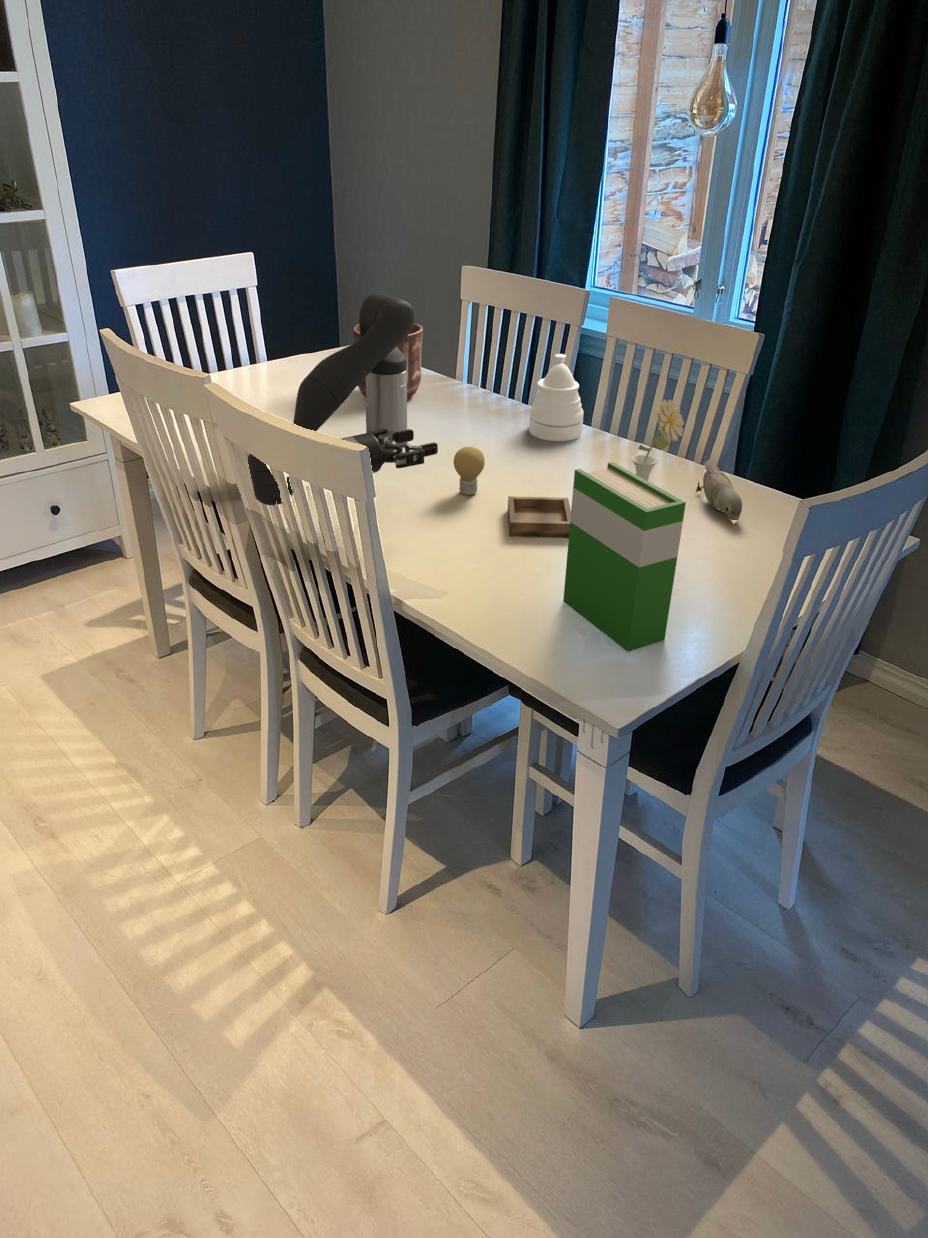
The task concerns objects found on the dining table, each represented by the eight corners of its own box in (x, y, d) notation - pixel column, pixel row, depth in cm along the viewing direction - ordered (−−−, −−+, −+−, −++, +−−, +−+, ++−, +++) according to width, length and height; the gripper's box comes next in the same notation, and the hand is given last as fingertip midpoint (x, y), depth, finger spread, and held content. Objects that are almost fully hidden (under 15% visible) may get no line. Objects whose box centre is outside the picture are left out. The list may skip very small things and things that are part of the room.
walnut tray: (509, 536, 185) (510, 522, 183) (507, 509, 195) (508, 496, 194) (572, 538, 185) (573, 523, 183) (567, 511, 195) (568, 497, 194)
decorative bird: (722, 526, 191) (728, 491, 187) (690, 493, 205) (695, 460, 201) (747, 524, 192) (754, 490, 188) (714, 492, 206) (719, 459, 202)
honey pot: (528, 421, 240) (532, 349, 231) (580, 423, 240) (586, 350, 231) (529, 440, 229) (534, 365, 220) (583, 442, 229) (590, 366, 220)
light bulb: (488, 490, 203) (490, 445, 198) (475, 501, 198) (477, 455, 193) (460, 484, 206) (461, 439, 200) (447, 495, 201) (448, 449, 195)
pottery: (420, 408, 246) (421, 337, 237) (352, 406, 246) (349, 335, 237) (424, 387, 261) (424, 319, 252) (359, 385, 261) (357, 317, 252)
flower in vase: (629, 542, 184) (645, 415, 171) (596, 518, 193) (608, 396, 180) (684, 529, 189) (703, 406, 176) (649, 507, 198) (665, 387, 185)
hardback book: (563, 601, 164) (574, 469, 152) (598, 591, 167) (612, 461, 155) (627, 651, 151) (646, 512, 139) (664, 640, 154) (685, 502, 142)
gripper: (334, 463, 187) (405, 447, 195) (371, 488, 177) (444, 470, 185) (332, 426, 183) (405, 411, 191) (370, 449, 173) (445, 433, 182)
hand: (424, 441), depth 188 cm, fingers open, 8 cm apart
